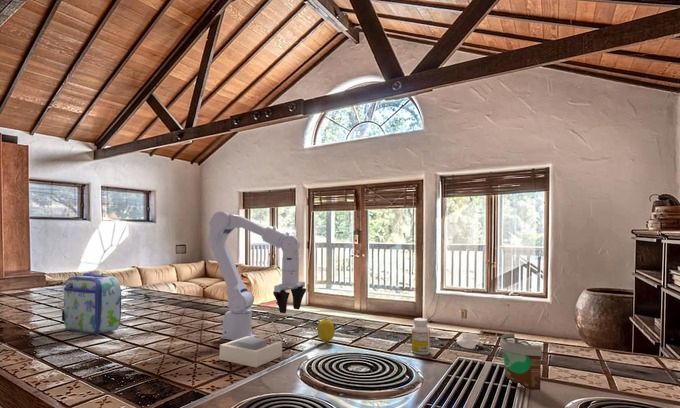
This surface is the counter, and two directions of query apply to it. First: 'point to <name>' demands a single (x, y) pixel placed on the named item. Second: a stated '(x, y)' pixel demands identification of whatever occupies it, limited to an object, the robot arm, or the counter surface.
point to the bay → (249, 353)
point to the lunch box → (92, 303)
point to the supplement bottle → (420, 337)
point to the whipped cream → (469, 340)
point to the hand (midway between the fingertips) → (289, 310)
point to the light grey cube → (252, 343)
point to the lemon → (326, 330)
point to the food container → (522, 361)
